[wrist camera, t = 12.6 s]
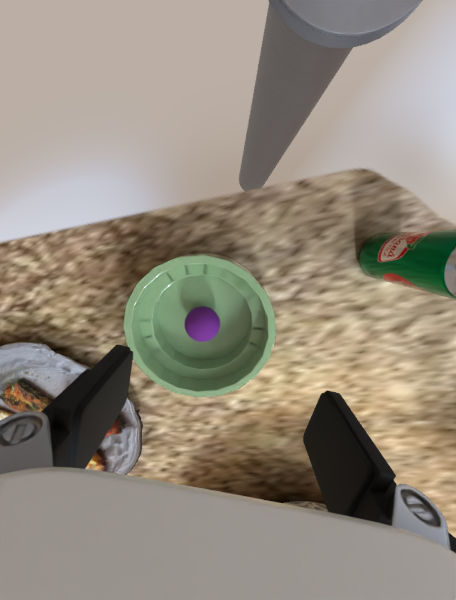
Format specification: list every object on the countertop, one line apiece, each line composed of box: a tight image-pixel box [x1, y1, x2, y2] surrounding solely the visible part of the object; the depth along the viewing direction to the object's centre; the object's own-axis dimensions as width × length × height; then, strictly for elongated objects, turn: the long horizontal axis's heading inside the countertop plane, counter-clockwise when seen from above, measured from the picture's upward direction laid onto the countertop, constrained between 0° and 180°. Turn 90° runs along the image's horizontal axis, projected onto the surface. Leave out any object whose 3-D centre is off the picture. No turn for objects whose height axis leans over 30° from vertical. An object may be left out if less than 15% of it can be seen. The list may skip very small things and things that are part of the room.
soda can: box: [359, 230, 456, 299], centre depth 20 cm, size 5×5×12 cm
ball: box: [185, 306, 220, 342], centre depth 26 cm, size 4×4×4 cm
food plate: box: [0, 342, 143, 475], centre depth 30 cm, size 25×23×4 cm
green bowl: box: [123, 252, 276, 397], centre depth 26 cm, size 16×16×5 cm
